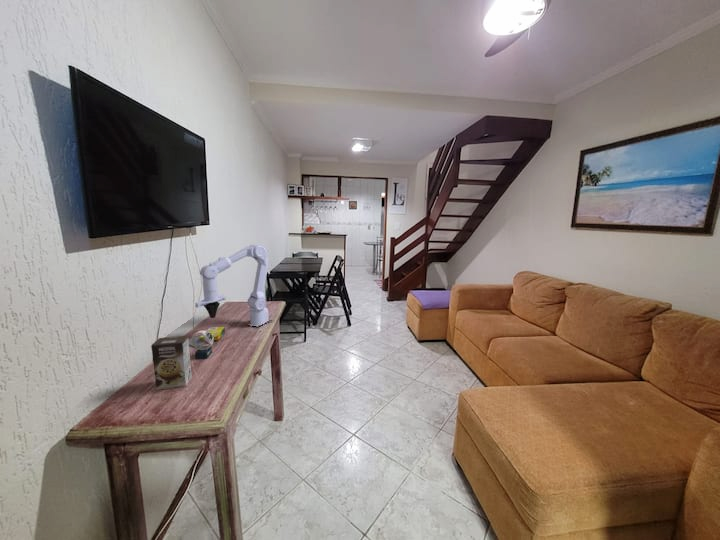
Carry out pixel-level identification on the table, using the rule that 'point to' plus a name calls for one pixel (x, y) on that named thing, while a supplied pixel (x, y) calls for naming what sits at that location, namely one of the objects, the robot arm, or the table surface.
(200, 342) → the mat
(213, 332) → the crayon box
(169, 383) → the cookie box
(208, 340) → the watch
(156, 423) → the table surface
